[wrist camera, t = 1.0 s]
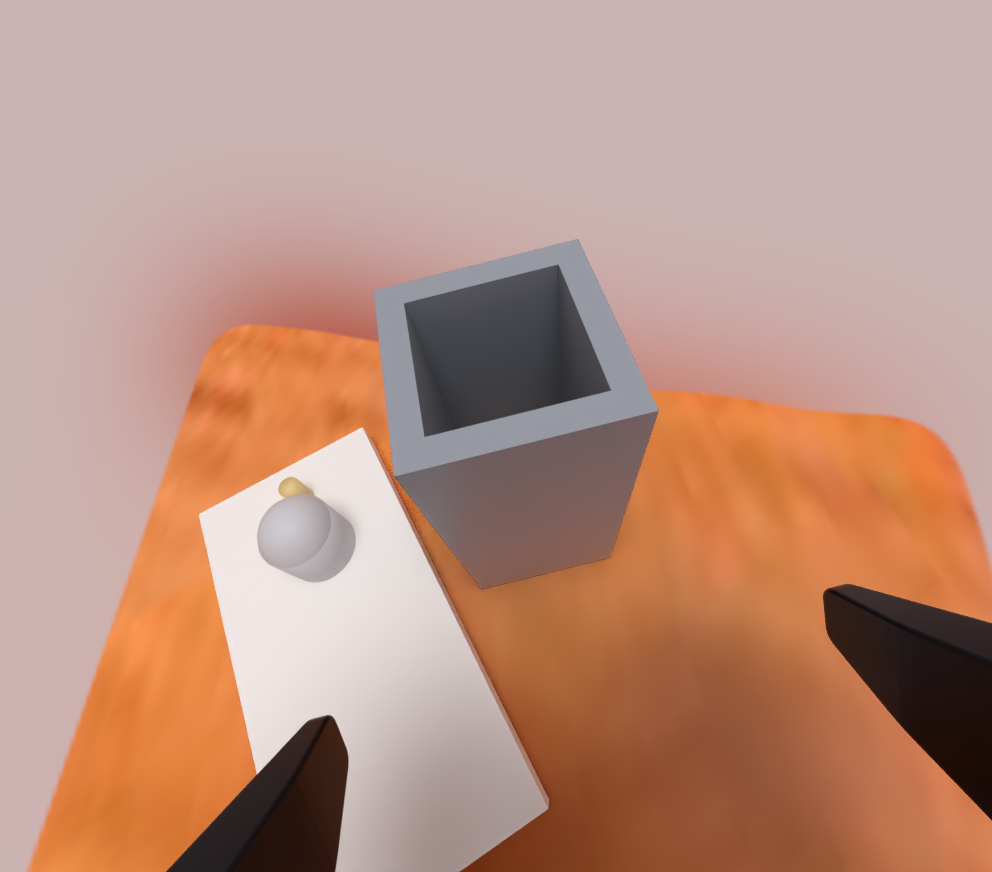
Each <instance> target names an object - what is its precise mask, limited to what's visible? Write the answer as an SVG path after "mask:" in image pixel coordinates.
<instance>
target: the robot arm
mask: <svg viewBox="0 0 992 872" xmlns="http://www.w3.org/2000/svg"><path fill="white" fill-rule="evenodd" d="M823 602H824V613H825V623H826V630H827V633H828V636H829V638H830V640H831V641H832V643H833V644H834V645H835V647H836V648H837V649H838V650H839V651H840V653H841V654H842V655H843V656H844V658H845V659H846V660H847V661H848V662H849V664H850V665H851V666H852V667H853V669H854V670H855V671H856V672H857V673H858V675H859V676H860V677H861V678H862V680H863V681H864V682H865V683H866V684H867V686H868V687H869V688H870V689H871V691H872V692H873V693H874V694H875V695H876V697H877V698H878V699H879V700H880V702H881V703H882V704H883V705H884V706H885V708H886V709H887V710H888V711H889V712H890V714H891V715H892V716H893V717H894V718H895V719H896V721H897V722H898V723H899V724H900V725H901V726H902V727H903V729H904V730H905V731H906V732H907V733H908V734H909V735H910V736H911V737H912V738H913V739H914V740H915V741H916V742H917V743H918V744H919V746H920V747H921V748H922V749H923V750H924V751H925V752H926V753H927V754H928V755H929V756H930V757H931V758H932V759H933V760H934V761H935V762H936V763H937V764H938V765H939V766H940V767H941V768H942V769H943V770H944V771H945V772H946V773H947V774H948V776H949V777H950V778H951V779H952V780H953V781H954V782H955V783H956V784H957V785H958V786H959V787H960V788H961V789H962V790H963V791H964V792H965V793H966V794H967V795H968V796H969V797H970V798H971V799H972V800H973V801H974V802H975V803H976V804H977V806H978V807H979V808H980V809H981V810H982V811H983V812H984V813H985V814H986V815H987V816H988V817H989V818H990V819H991V820H992V623H989V622H986V621H982V620H978V619H975V618H971V617H968V616H964V615H960V614H957V613H953V612H949V611H946V610H942V609H939V608H935V607H931V606H928V605H924V604H921V603H917V602H913V601H910V600H906V599H902V598H899V597H895V596H892V595H888V594H884V593H881V592H877V591H873V590H870V589H866V588H863V587H859V586H855V585H852V584H844V585H840V586H836V587H832V588H828V589H826V590H825V591H824V594H823ZM348 766H349V757H348V751H347V748H346V745H345V743H344V740H343V738H342V735H341V733H340V730H339V728H338V725H337V723H336V720H335V719H334V717H333V716H331V715H325V716H321V717H317V718H313V719H310V720H308V721H307V722H306V723H305V724H304V725H303V726H302V727H301V728H300V729H299V730H298V731H297V732H296V733H295V734H294V735H293V737H292V738H291V739H290V740H289V741H288V742H287V743H286V744H285V745H284V746H283V747H282V748H281V749H280V750H279V752H278V753H277V754H276V755H275V756H274V757H273V758H272V759H271V760H270V761H269V762H268V763H267V764H266V765H265V766H264V768H263V769H262V770H261V771H260V772H259V773H258V774H257V775H256V776H255V777H254V778H253V779H252V780H251V781H250V783H249V784H248V785H247V786H246V787H245V788H244V789H243V790H242V791H241V792H240V793H239V794H238V795H237V796H236V797H235V799H234V800H233V801H232V802H231V803H230V804H229V805H228V806H227V807H226V808H225V809H224V810H223V811H222V812H221V814H220V815H219V816H218V817H217V818H216V819H215V820H214V821H213V822H212V823H211V824H210V825H209V826H208V827H207V828H206V830H205V831H204V832H203V833H202V834H201V835H200V836H199V837H198V838H197V839H196V840H195V841H194V842H193V843H192V845H191V846H190V847H189V848H188V849H187V850H186V851H185V852H184V853H183V854H182V855H181V856H180V857H179V858H178V859H177V861H176V862H175V863H174V864H173V865H172V866H171V867H170V868H169V869H168V870H167V871H166V872H335V870H336V864H337V857H338V850H339V842H340V833H341V825H342V817H343V808H344V800H345V792H346V783H347V775H348Z"/></svg>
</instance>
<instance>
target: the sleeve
mask: <svg viewBox="0 0 992 872" xmlns="http://www.w3.org/2000/svg"><path fill="white" fill-rule="evenodd" d="M374 297H375V306H376V316H377V325H378V334H379V344H380V353H381V362H382V371H383V380H384V390H385V399H386V408H387V417H388V426H389V436H390V445H391V454H392V463H393V472H394V477H395V479H396V480H397V481H398V482H399V484H400V485H401V486H402V488H403V489H404V490H405V491H406V493H407V494H408V495H409V497H410V498H411V499H412V501H413V502H414V503H415V504H416V506H417V507H418V508H419V510H420V511H421V512H422V513H423V515H424V516H425V517H426V519H427V520H428V521H429V522H430V524H431V525H432V526H433V528H434V529H435V530H436V531H437V533H438V534H439V535H440V537H441V538H442V539H443V540H444V542H445V543H446V544H447V546H448V547H449V548H450V550H451V551H452V552H453V553H454V555H455V556H456V557H457V559H458V560H459V561H460V562H461V564H462V565H463V566H464V568H465V569H466V570H467V571H468V573H469V574H470V575H471V577H472V578H473V579H474V580H475V582H476V583H477V584H478V586H479V587H480V588H481V589H485V588H489V587H493V586H497V585H501V584H506V583H510V582H514V581H518V580H522V579H526V578H530V577H534V576H538V575H542V574H546V573H550V572H554V571H558V570H562V569H566V568H570V567H574V566H578V565H582V564H586V563H590V562H595V561H599V560H603V559H607V558H610V556H611V553H612V550H613V547H614V544H615V541H616V538H617V535H618V532H619V529H620V526H621V523H622V520H623V517H624V514H625V511H626V508H627V505H628V502H629V499H630V496H631V493H632V490H633V487H634V484H635V481H636V478H637V475H638V472H639V469H640V466H641V463H642V460H643V457H644V454H645V451H646V448H647V445H648V442H649V439H650V435H651V432H652V429H653V426H654V423H655V420H656V417H657V414H658V411H659V410H658V408H657V406H656V404H655V402H654V399H653V397H652V395H651V393H650V391H649V389H648V387H647V385H646V382H645V380H644V378H643V376H642V374H641V372H640V370H639V368H638V365H637V363H636V361H635V359H634V357H633V355H632V353H631V351H630V348H629V346H628V344H627V342H626V340H625V338H624V335H623V333H622V331H621V329H620V327H619V325H618V323H617V321H616V319H615V316H614V315H613V312H612V310H611V308H610V306H609V304H608V301H607V299H606V297H605V295H604V293H603V291H602V289H601V287H600V284H599V282H598V280H597V278H596V276H595V274H594V272H593V269H592V267H591V265H590V263H589V261H588V259H587V257H586V255H585V252H584V250H583V248H582V246H581V244H580V242H579V240H578V239H576V240H572V241H569V242H564V243H560V244H557V245H552V246H548V247H545V248H540V249H536V250H533V251H529V252H525V253H521V254H517V255H513V256H509V257H505V258H501V259H497V260H493V261H489V262H485V263H481V264H477V265H473V266H469V267H465V268H461V269H457V270H453V271H449V272H446V273H441V274H437V275H433V276H429V277H426V278H421V279H417V280H413V281H409V282H406V283H402V284H398V285H394V286H390V287H386V288H382V289H378V290H374Z"/></svg>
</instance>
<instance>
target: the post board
mask: <svg viewBox="0 0 992 872" xmlns="http://www.w3.org/2000/svg"><path fill="white" fill-rule="evenodd" d="M199 517H200V522H201V526H202V531H203V535H204V540H205V544H206V548H207V553H208V557H209V562H210V566H211V571H212V575H213V580H214V584H215V589H216V593H217V598H218V602H219V607H220V611H221V616H222V620H223V624H224V629H225V633H226V638H227V642H228V647H229V651H230V656H231V660H232V665H233V669H234V674H235V678H236V683H237V687H238V691H239V696H240V700H241V705H242V709H243V714H244V718H245V723H246V727H247V732H248V736H249V741H250V745H251V750H252V754H253V759H254V763H255V767H256V772H257V774H258V773H259V772H260V771H261V770H262V769H263V768H264V766H265V765H266V764H267V763H268V762H269V761H270V760H271V759H272V758H273V757H274V756H275V755H276V754H277V753H278V752H279V750H280V749H281V748H282V747H283V746H284V745H285V744H286V743H287V742H288V741H289V740H290V739H291V738H292V737H293V735H294V734H295V733H296V732H297V731H298V730H299V729H300V728H301V727H302V726H303V725H304V724H305V723H306V722H307V721H308V720H310V719H313V718H317V717H321V716H325V715H331V716H333V717H334V719H335V720H336V723H337V725H338V728H339V730H340V733H341V735H342V738H343V740H344V743H345V745H346V748H347V751H348V757H349V766H348V775H347V783H346V792H345V800H344V808H343V817H342V825H341V833H340V842H339V850H338V857H337V864H336V870H335V872H460V871H461V870H463V869H464V868H465V867H467V866H468V865H470V864H471V863H473V862H474V861H475V860H477V859H478V858H480V857H481V856H482V855H484V854H485V853H487V852H488V851H490V850H491V849H492V848H494V847H495V846H497V845H498V844H499V843H501V842H502V841H504V840H505V839H506V838H508V837H509V836H511V835H512V834H514V833H515V832H516V831H518V830H519V829H521V828H522V827H523V826H525V825H526V824H528V823H529V822H530V821H532V820H533V819H535V818H536V817H538V816H539V815H540V814H542V813H543V812H545V811H546V810H547V809H548V808H549V801H550V800H549V798H548V796H547V794H546V792H545V790H544V788H543V786H542V784H541V782H540V780H539V778H538V776H537V774H536V772H535V770H534V768H533V766H532V764H531V762H530V760H529V758H528V756H527V754H526V751H525V749H524V747H523V745H522V743H521V741H520V739H519V737H518V735H517V733H516V731H515V729H514V727H513V725H512V723H511V721H510V719H509V717H508V715H507V713H506V711H505V709H504V707H503V705H502V703H501V701H500V699H499V697H498V695H497V693H496V690H495V688H494V686H493V684H492V682H491V680H490V678H489V676H488V674H487V672H486V670H485V668H484V666H483V664H482V662H481V660H480V658H479V656H478V654H477V652H476V650H475V648H474V646H473V644H472V642H471V640H470V638H469V636H468V634H467V632H466V629H465V627H464V625H463V623H462V621H461V619H460V617H459V615H458V613H457V611H456V609H455V607H454V605H453V603H452V601H451V599H450V597H449V595H448V593H447V591H446V589H445V587H444V585H443V583H442V581H441V579H440V577H439V575H438V573H437V571H436V569H435V566H434V564H433V562H432V560H431V558H430V556H429V554H428V552H427V550H426V548H425V546H424V544H423V542H422V540H421V538H420V536H419V534H418V532H417V530H416V528H415V526H414V524H413V522H412V520H411V518H410V516H409V514H408V512H407V510H406V508H405V505H404V503H403V501H402V499H401V497H400V495H399V493H398V491H397V489H396V487H395V485H394V483H393V481H392V479H391V477H390V475H389V473H388V471H387V469H386V467H385V465H384V463H383V461H382V459H381V457H380V455H379V453H378V451H377V449H376V447H375V444H374V442H373V441H372V439H371V438H370V437H369V435H368V434H367V433H366V431H365V430H364V429H363V427H362V428H360V429H358V430H356V431H354V432H353V433H351V434H349V435H347V436H345V437H343V438H341V439H339V440H338V441H336V442H334V443H332V444H330V445H328V446H326V447H324V448H322V449H321V450H319V451H317V452H315V453H313V454H311V455H309V456H307V457H306V458H304V459H302V460H300V461H298V462H296V463H294V464H292V465H290V466H289V467H287V468H285V469H283V470H281V471H279V472H277V473H275V474H274V475H272V476H270V477H268V478H266V479H264V480H262V481H260V482H259V483H257V484H255V485H253V486H251V487H249V488H247V489H245V490H243V491H242V492H240V493H238V494H236V495H234V496H232V497H230V498H228V499H227V500H225V501H223V502H221V503H219V504H217V505H215V506H213V507H211V508H210V509H208V510H206V511H204V512H202V513H200V514H199Z"/></svg>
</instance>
